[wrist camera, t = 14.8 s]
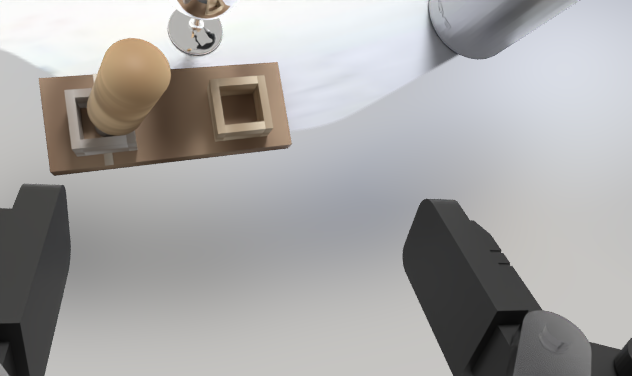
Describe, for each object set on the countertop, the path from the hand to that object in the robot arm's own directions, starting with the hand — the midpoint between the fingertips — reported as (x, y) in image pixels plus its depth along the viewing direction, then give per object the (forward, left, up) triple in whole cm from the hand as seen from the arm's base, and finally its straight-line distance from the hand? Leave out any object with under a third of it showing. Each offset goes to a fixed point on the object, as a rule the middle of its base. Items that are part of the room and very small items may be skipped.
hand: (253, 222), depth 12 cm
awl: (+5, -11, -29) cm, 31 cm away
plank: (0, -11, -31) cm, 33 cm away
